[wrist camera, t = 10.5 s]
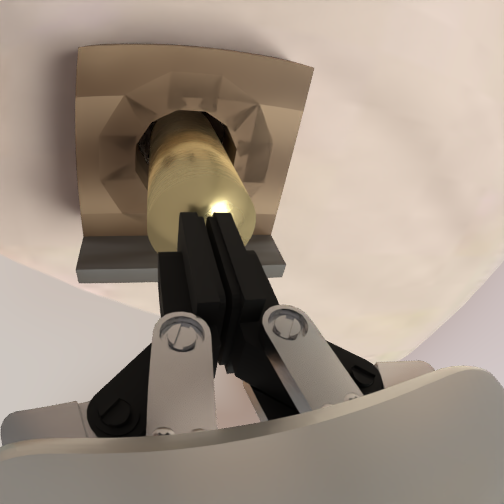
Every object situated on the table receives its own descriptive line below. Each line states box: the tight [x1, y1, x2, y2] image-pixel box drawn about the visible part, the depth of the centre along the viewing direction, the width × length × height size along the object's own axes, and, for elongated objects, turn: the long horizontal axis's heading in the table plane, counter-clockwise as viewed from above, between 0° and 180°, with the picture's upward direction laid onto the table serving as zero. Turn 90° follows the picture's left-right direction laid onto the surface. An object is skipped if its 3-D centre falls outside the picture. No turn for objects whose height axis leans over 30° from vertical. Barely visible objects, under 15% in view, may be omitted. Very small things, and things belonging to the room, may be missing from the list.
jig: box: [75, 44, 314, 283], centre depth 16 cm, size 12×12×6 cm
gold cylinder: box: [147, 110, 256, 253], centre depth 15 cm, size 4×4×10 cm
